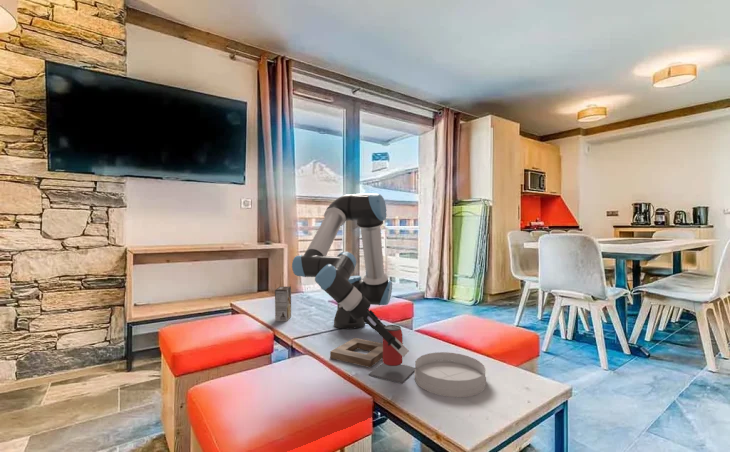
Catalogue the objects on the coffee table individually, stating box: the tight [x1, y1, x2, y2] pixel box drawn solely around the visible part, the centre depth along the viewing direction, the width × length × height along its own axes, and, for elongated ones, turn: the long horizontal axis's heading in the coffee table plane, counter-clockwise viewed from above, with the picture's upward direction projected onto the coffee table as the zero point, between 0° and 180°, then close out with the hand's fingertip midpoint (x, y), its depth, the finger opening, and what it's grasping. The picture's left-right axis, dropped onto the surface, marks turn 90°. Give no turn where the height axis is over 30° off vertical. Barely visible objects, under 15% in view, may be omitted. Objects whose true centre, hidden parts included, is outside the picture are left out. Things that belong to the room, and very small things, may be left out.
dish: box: [414, 351, 487, 398], centre depth 113 cm, size 22×22×5 cm
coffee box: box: [274, 285, 292, 322], centre depth 183 cm, size 9×6×16 cm
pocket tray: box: [329, 337, 383, 368], centre depth 134 cm, size 17×17×2 cm
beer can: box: [382, 324, 403, 366], centre depth 118 cm, size 7×7×12 cm
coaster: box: [368, 362, 415, 384], centre depth 119 cm, size 12×12×1 cm
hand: (403, 349), depth 119 cm, fingers closed on beer can, 7 cm apart
